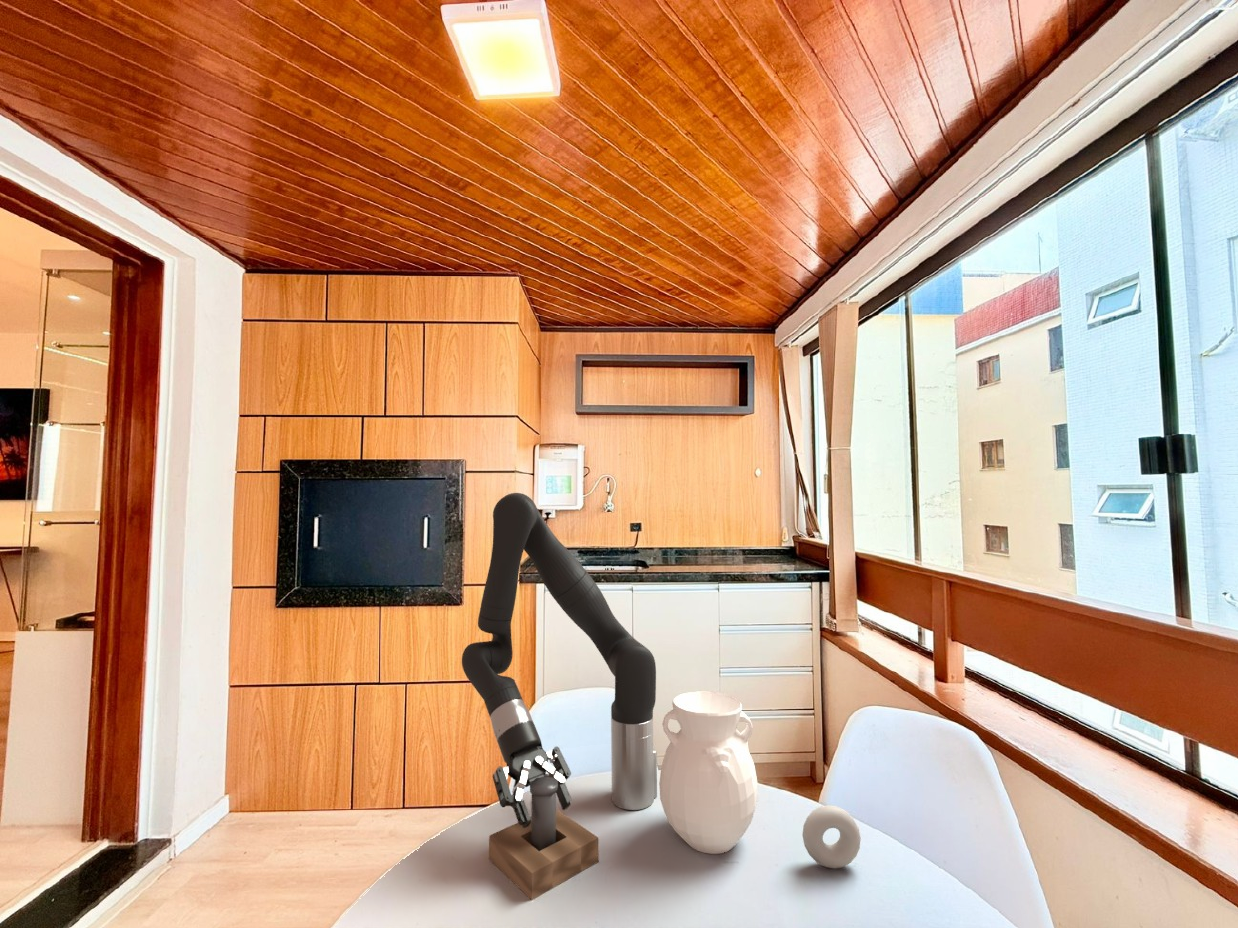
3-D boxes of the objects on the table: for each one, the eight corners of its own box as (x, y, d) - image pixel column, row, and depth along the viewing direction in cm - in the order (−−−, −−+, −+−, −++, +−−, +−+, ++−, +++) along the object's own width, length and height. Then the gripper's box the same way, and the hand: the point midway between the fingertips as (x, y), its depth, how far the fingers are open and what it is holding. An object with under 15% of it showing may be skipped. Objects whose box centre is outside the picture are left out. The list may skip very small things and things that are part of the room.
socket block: (552, 828, 104) (553, 806, 105) (598, 861, 94) (598, 837, 95) (488, 859, 95) (489, 835, 95) (531, 899, 85) (532, 872, 85)
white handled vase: (751, 813, 109) (747, 687, 112) (767, 872, 91) (762, 720, 93) (661, 809, 111) (659, 685, 114) (659, 866, 93) (656, 717, 95)
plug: (546, 847, 98) (547, 774, 99) (562, 860, 94) (563, 783, 96) (523, 859, 95) (524, 782, 96) (539, 873, 91) (540, 793, 92)
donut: (807, 873, 90) (805, 811, 92) (800, 860, 94) (798, 801, 95) (866, 873, 91) (862, 811, 92) (856, 860, 94) (853, 800, 95)
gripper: (489, 730, 98) (522, 821, 88) (552, 710, 107) (588, 791, 97) (475, 751, 101) (505, 841, 91) (537, 730, 110) (571, 810, 101)
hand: (548, 815), depth 94 cm, fingers open, 8 cm apart
